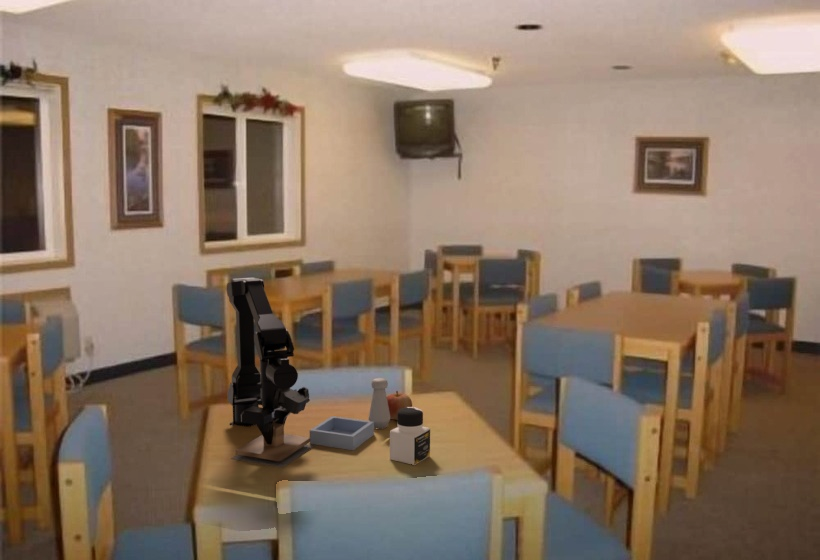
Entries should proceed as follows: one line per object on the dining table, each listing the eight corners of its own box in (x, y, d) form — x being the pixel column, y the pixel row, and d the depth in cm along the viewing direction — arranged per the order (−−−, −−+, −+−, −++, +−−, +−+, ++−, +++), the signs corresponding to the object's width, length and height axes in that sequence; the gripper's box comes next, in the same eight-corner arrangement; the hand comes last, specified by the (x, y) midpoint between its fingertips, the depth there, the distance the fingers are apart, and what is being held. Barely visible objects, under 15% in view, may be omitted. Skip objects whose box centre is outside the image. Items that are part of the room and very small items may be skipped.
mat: (231, 461, 180) (231, 458, 180) (266, 440, 194) (266, 438, 194) (282, 469, 175) (282, 467, 175) (314, 448, 189) (314, 445, 189)
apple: (395, 425, 206) (395, 396, 205) (377, 417, 212) (377, 389, 211) (418, 419, 211) (418, 391, 210) (400, 412, 217) (400, 384, 216)
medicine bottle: (414, 465, 178) (415, 415, 176) (389, 459, 181) (389, 410, 180) (430, 456, 184) (430, 407, 182) (405, 450, 187) (405, 403, 186)
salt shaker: (387, 430, 202) (387, 382, 200) (366, 429, 203) (366, 381, 201) (392, 423, 207) (392, 376, 205) (371, 422, 208) (371, 375, 207)
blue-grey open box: (309, 445, 190) (309, 430, 190) (332, 430, 201) (332, 416, 201) (353, 452, 186) (353, 436, 185) (373, 436, 197) (373, 421, 196)
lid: (235, 454, 180) (235, 431, 179) (268, 435, 193) (267, 414, 192) (280, 461, 175) (279, 438, 175) (310, 441, 188) (310, 420, 188)
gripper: (281, 392, 170) (282, 459, 172) (321, 372, 187) (322, 433, 189) (238, 387, 174) (240, 452, 176) (282, 367, 191) (283, 427, 194)
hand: (273, 441), depth 184 cm, fingers closed on lid, 3 cm apart
